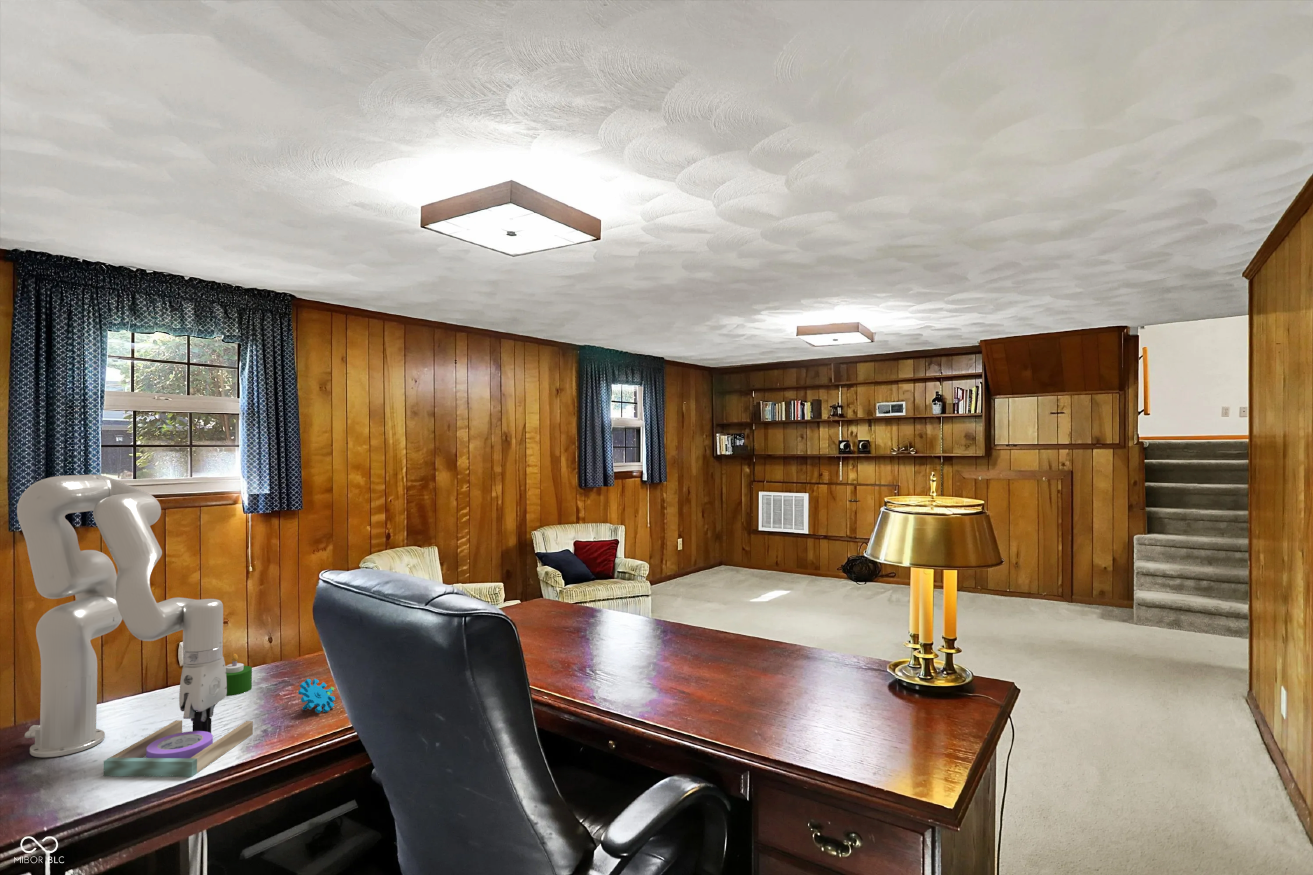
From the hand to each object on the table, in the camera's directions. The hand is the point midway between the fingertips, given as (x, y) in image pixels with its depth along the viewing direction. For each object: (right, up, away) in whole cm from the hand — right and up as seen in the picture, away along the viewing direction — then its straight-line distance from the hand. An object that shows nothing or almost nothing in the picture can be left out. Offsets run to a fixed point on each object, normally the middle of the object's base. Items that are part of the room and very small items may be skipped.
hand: (201, 736), depth 153 cm
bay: (0, -1, -5) cm, 6 cm away
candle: (-13, -2, +33) cm, 35 cm away
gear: (+17, -2, +20) cm, 26 cm away
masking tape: (+1, -2, -8) cm, 8 cm away
